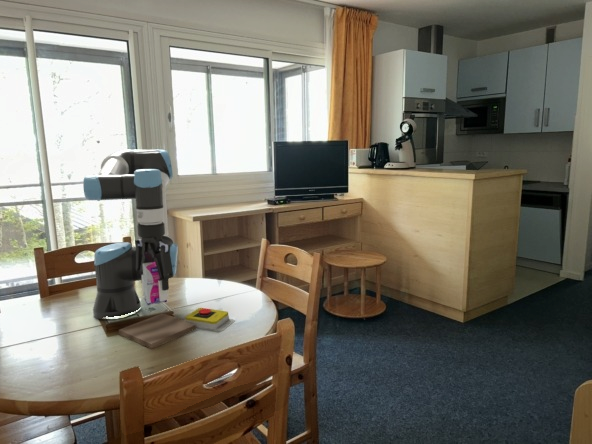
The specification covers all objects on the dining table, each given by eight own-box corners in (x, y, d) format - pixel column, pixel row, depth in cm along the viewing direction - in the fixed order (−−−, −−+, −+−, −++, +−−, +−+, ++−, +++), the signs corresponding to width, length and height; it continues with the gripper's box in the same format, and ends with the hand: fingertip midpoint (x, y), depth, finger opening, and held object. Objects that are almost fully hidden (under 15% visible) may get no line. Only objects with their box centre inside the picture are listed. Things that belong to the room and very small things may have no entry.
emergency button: (195, 303, 144) (235, 308, 139) (196, 315, 145) (235, 321, 140) (179, 313, 136) (221, 319, 131) (180, 326, 137) (221, 333, 132)
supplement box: (147, 305, 126) (144, 267, 124) (144, 299, 131) (141, 262, 129) (167, 302, 128) (165, 265, 126) (163, 296, 134) (161, 260, 132)
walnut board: (119, 334, 130) (118, 329, 129) (163, 317, 142) (163, 313, 142) (151, 348, 120) (151, 343, 120) (195, 329, 133) (195, 324, 133)
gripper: (119, 220, 128) (124, 293, 132) (161, 228, 117) (166, 308, 121) (141, 217, 134) (146, 287, 138) (183, 224, 122) (187, 300, 127)
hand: (155, 297), depth 130 cm, fingers closed on supplement box, 7 cm apart
